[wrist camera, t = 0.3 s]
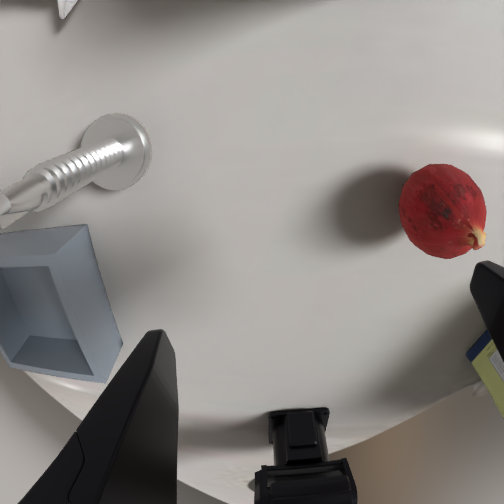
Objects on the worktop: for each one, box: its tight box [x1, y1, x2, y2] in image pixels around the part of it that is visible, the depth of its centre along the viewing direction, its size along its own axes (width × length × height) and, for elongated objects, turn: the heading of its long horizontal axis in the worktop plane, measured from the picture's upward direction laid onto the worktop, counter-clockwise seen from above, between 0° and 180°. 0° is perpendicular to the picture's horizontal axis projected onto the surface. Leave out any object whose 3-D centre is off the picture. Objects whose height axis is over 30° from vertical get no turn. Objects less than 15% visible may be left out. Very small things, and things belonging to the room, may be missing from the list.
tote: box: [0, 224, 123, 383], centre depth 22 cm, size 12×12×5 cm
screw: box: [0, 113, 152, 229], centre depth 14 cm, size 13×5×5 cm
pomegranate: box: [398, 164, 486, 259], centre depth 17 cm, size 6×6×8 cm
